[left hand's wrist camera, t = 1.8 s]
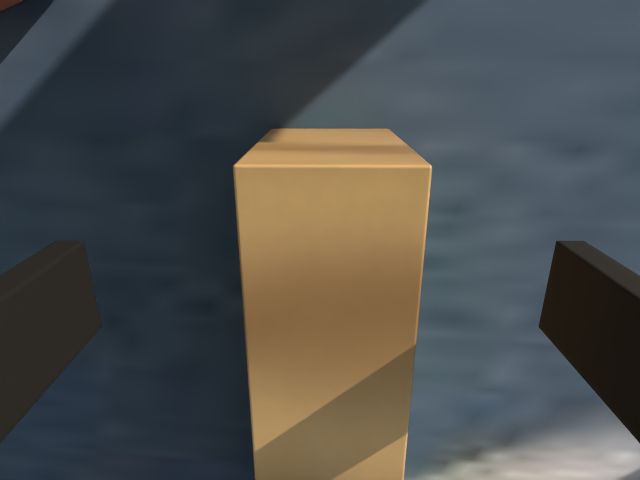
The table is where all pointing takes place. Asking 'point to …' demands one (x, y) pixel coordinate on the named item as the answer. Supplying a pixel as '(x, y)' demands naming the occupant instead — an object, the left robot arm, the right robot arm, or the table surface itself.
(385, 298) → the wood beam
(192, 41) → the table surface
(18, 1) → the terracotta block
